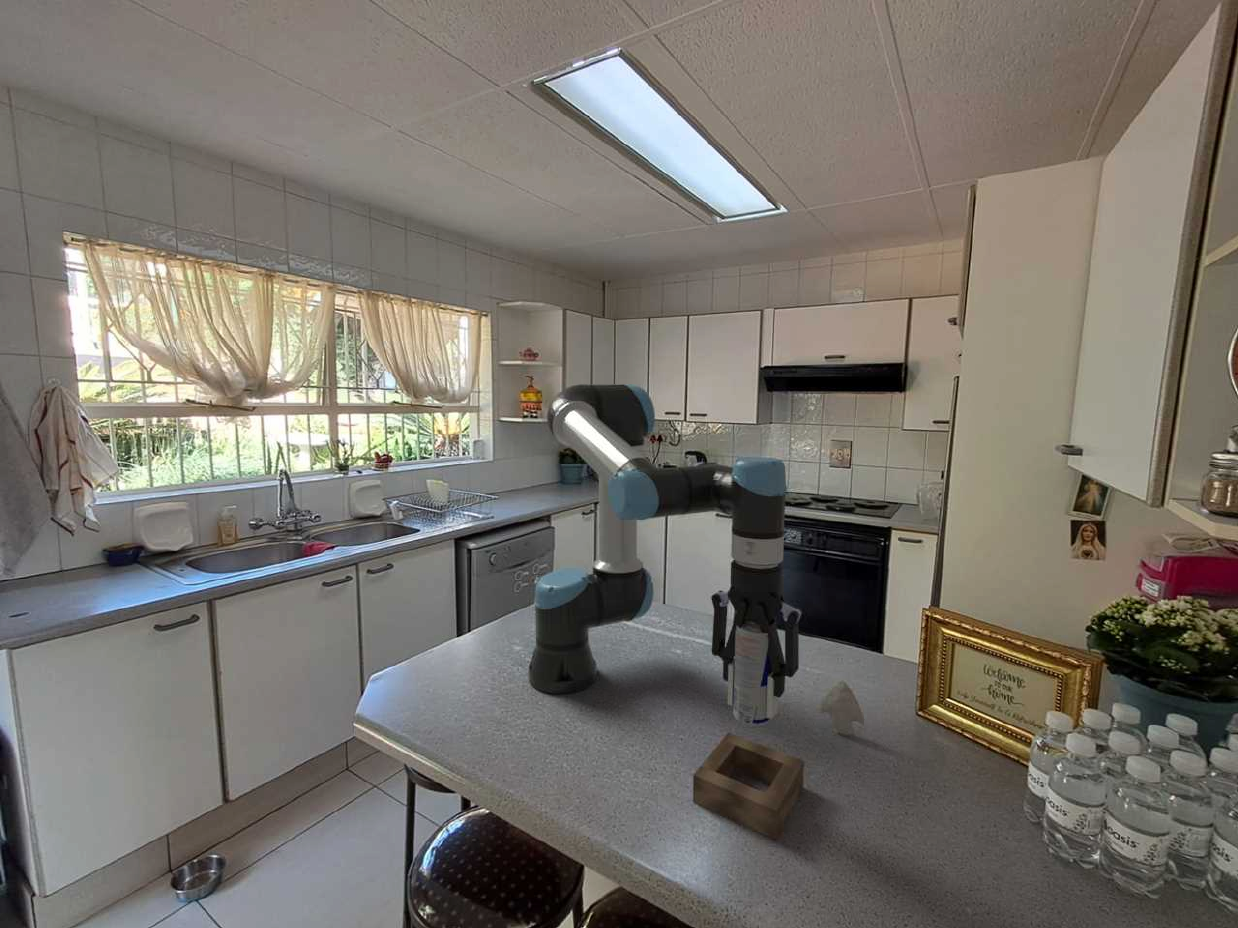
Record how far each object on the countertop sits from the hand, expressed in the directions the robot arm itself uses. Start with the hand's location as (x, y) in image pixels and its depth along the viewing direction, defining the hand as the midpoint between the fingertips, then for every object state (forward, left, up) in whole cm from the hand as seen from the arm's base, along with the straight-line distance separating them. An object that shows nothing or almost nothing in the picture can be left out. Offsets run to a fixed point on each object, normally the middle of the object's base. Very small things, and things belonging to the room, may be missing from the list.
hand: (752, 707), depth 84 cm
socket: (0, 0, -15) cm, 15 cm away
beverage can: (0, 0, -2) cm, 2 cm away
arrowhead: (+8, +25, -15) cm, 30 cm away
